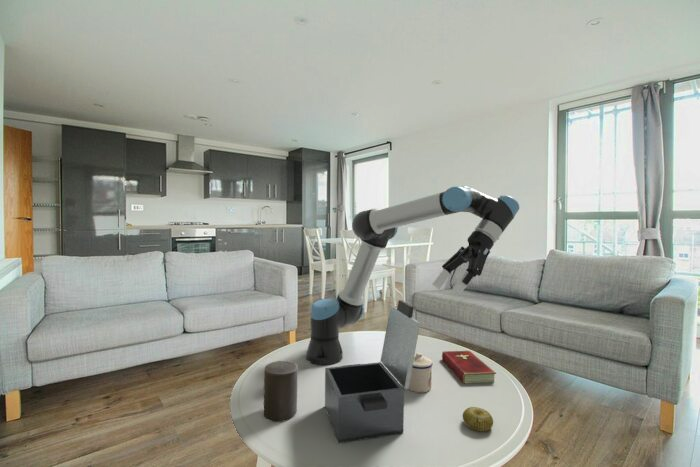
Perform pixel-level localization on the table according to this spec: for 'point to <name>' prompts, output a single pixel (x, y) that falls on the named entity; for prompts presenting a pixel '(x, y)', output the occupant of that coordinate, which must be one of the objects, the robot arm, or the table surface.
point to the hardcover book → (468, 367)
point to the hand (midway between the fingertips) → (445, 289)
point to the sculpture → (478, 419)
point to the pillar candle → (280, 391)
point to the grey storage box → (363, 402)
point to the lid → (400, 342)
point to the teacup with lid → (421, 374)
